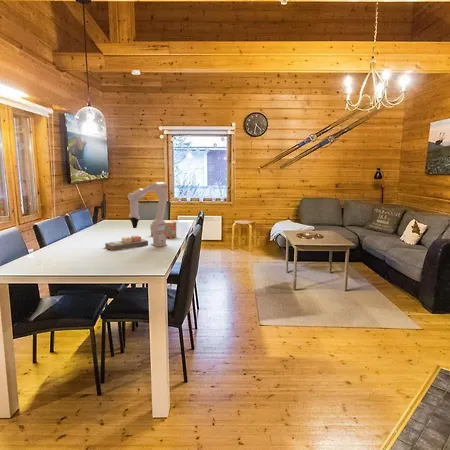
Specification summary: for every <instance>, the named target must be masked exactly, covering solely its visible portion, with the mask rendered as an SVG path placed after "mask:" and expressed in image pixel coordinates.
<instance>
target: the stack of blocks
mask: <svg viewBox="0 0 450 450" xmlns="http://www.w3.org/2000/svg"><path fill="white" fill-rule="evenodd" d="M164 221H165V230H164V232H163V234H164V235H165V236H166V237H169V238H168V239H174V238H176V237H177V221H172V220H164ZM151 225H152V224H150V226H151ZM150 235H151V236H152V237H153V233H152V231H151V230H150ZM173 237H174V238H173Z"/></svg>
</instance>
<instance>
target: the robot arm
mask: <svg viewBox="0 0 450 450" xmlns="http://www.w3.org/2000/svg"><path fill="white" fill-rule="evenodd" d="M168 188H169V186H168V185H167V183H166V182H165V181H160V182H152V183H151V184H149V185H148V186H146V187H144V188H137V190H134V191H133V192H129V193H128V194H127V199H128V201H129V212H130V213H129V214H128V218H129V220H130V222H131V225H132V228H133V229H137V227H138V224H139V221H140V219H141V216H140V214H139V200H140V199H141V198H143V197H145V196H146V194H148V193H149V192H151V191H153V192H154V193H155V194H156V195H157V196H158V203H157V207H156V212H155V218H154V219H153V221H152V225H151V224H150V225H149V226H150V227H149V228H150V232H151V231H152V233H153V236H152V243H150V245H152V246H153V247H154V246H155V247H163V246H168V244H167V238H166V236H165V235H164V234H163V232H164V230H165V221H166V220H164V217H165V212H166V208H167V203H168V198H169V197H168V196H169V195H168Z"/></svg>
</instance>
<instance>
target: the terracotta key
mask: <svg viewBox="0 0 450 450" xmlns="http://www.w3.org/2000/svg"><path fill="white" fill-rule="evenodd" d="M130 237H131V238H132V241H133V242H137V241H141V239H142V236H140V235H133V236H130Z"/></svg>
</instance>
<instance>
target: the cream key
mask: <svg viewBox="0 0 450 450" xmlns="http://www.w3.org/2000/svg"><path fill="white" fill-rule="evenodd" d="M121 241H122V242H123V243H130V242H132V238H131V236H125V237H124V236H123V237H121Z"/></svg>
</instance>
